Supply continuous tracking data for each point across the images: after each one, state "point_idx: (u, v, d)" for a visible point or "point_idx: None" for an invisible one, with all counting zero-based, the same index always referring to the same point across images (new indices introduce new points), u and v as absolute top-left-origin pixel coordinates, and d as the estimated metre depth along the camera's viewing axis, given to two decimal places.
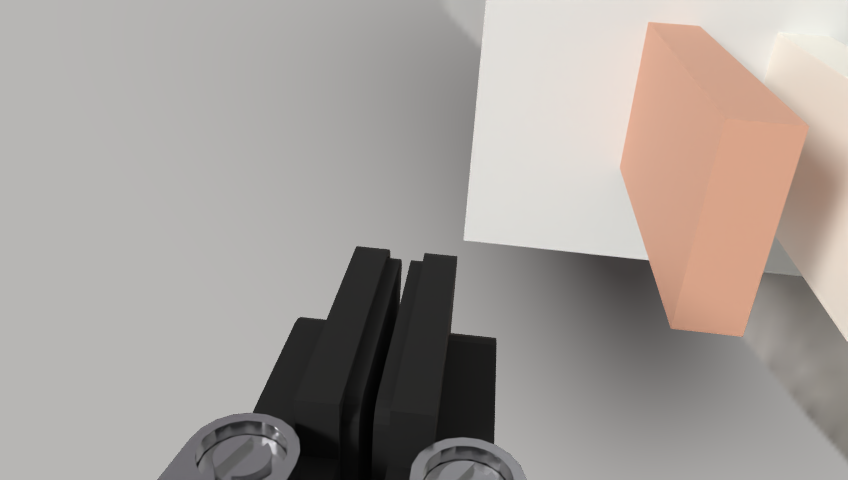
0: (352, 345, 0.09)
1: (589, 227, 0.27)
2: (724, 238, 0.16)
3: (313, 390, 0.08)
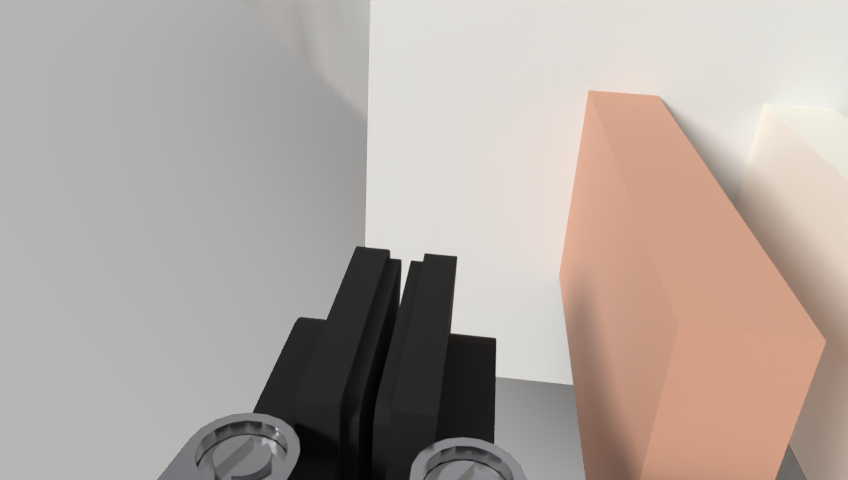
0: (352, 345, 0.09)
1: (523, 347, 0.20)
2: None
3: (313, 390, 0.08)
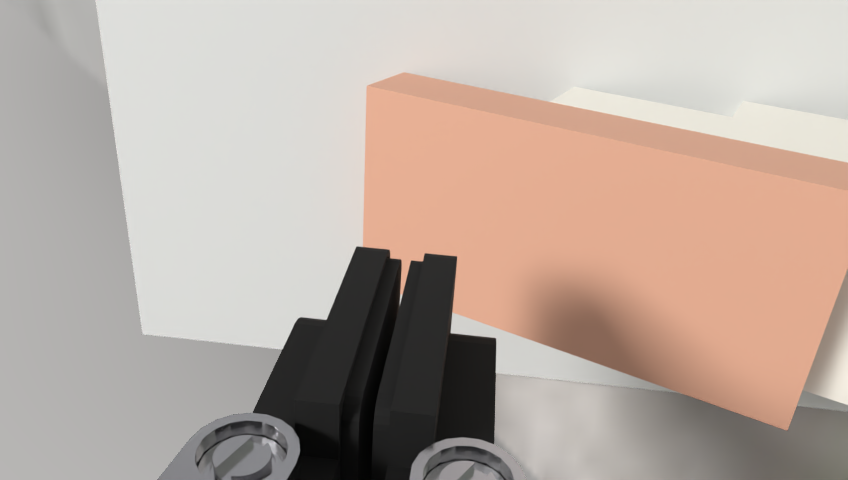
0: (352, 345, 0.09)
1: (291, 319, 0.21)
2: None
3: (313, 390, 0.08)
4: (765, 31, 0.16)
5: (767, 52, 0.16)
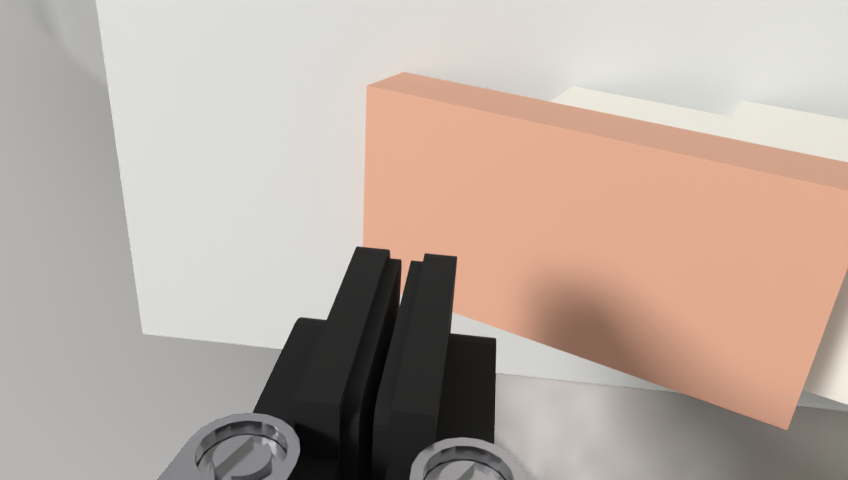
0: (352, 345, 0.09)
1: (291, 319, 0.21)
2: None
3: (313, 390, 0.08)
4: (765, 31, 0.16)
5: (767, 52, 0.16)
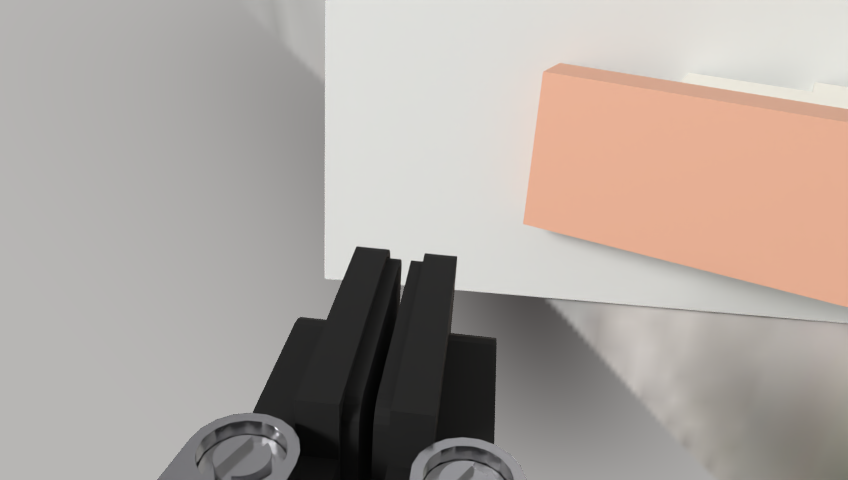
0: (352, 345, 0.09)
1: None
2: None
3: (313, 390, 0.08)
4: (832, 30, 0.22)
5: (833, 45, 0.22)
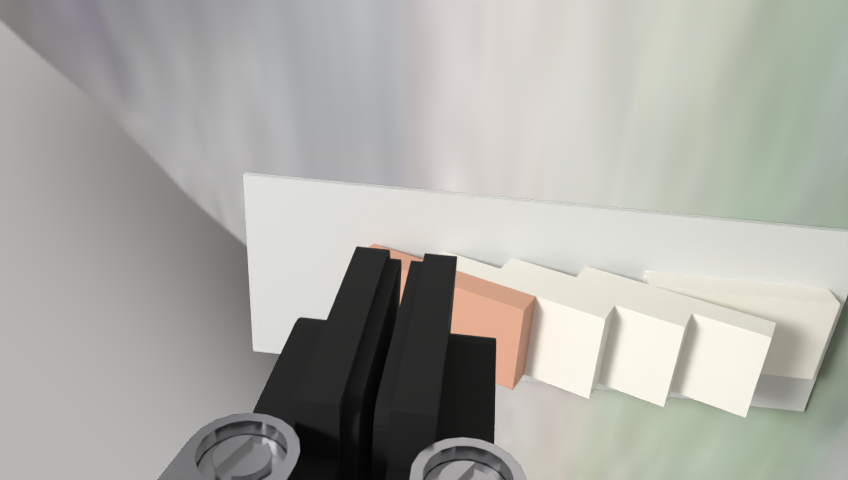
0: (352, 345, 0.09)
1: None
2: (522, 347, 0.38)
3: (313, 390, 0.08)
4: (516, 232, 0.41)
5: (518, 240, 0.41)
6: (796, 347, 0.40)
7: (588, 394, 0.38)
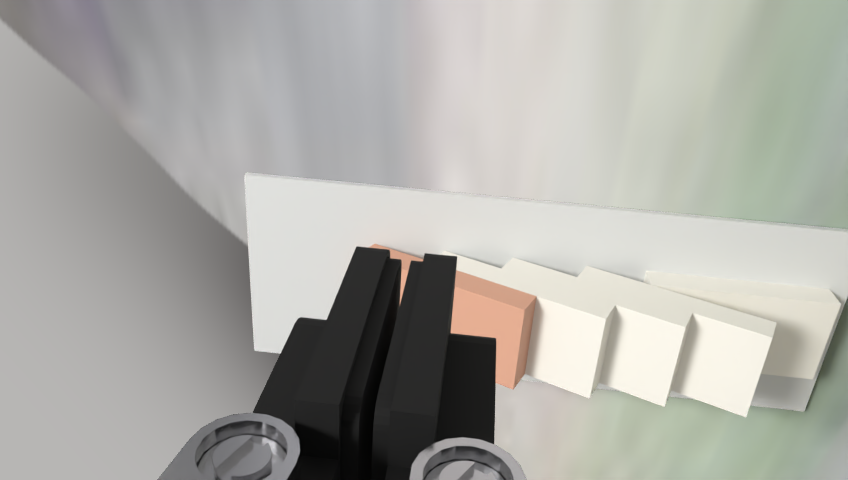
0: (352, 345, 0.09)
1: None
2: (522, 346, 0.38)
3: (313, 390, 0.08)
4: (517, 232, 0.41)
5: (519, 240, 0.41)
6: (797, 347, 0.40)
7: (589, 394, 0.38)
